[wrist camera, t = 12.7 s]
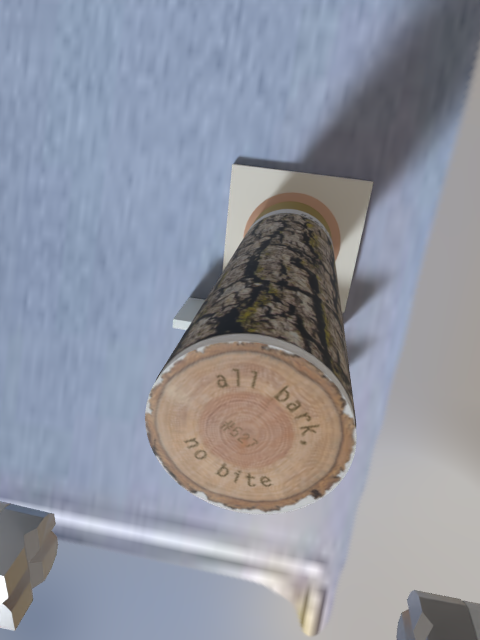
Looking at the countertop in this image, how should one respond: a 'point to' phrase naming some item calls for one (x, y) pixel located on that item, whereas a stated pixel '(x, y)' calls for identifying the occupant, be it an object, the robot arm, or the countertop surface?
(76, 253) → the countertop surface
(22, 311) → the countertop surface
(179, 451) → the wooden log
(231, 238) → the resting pad
